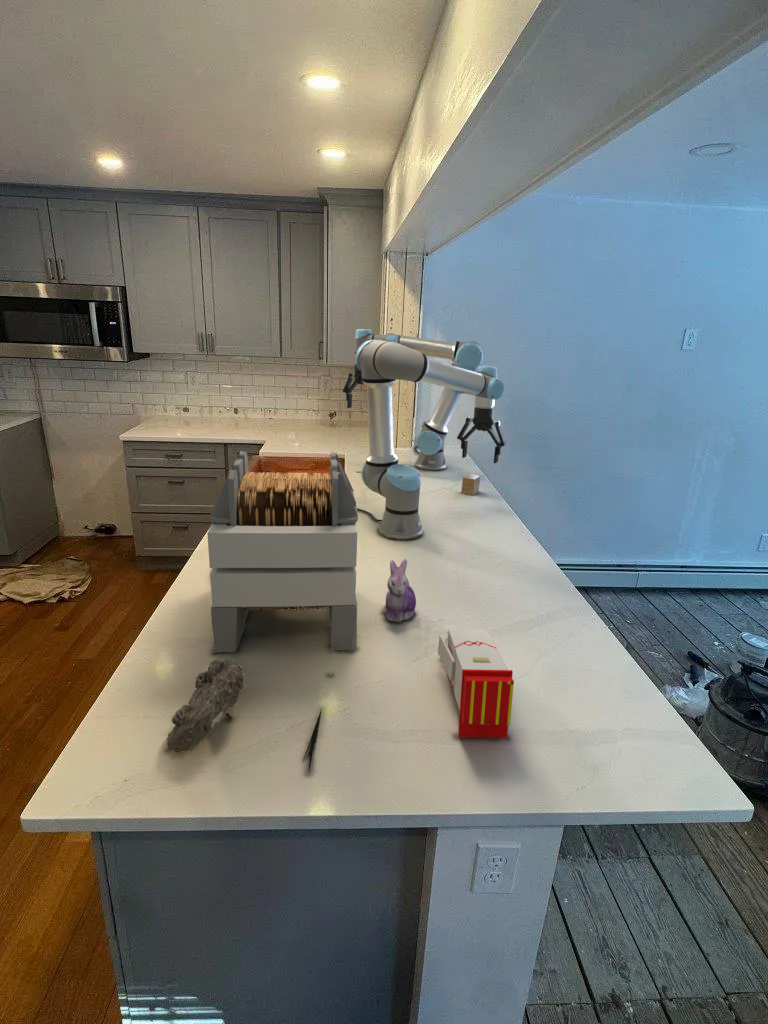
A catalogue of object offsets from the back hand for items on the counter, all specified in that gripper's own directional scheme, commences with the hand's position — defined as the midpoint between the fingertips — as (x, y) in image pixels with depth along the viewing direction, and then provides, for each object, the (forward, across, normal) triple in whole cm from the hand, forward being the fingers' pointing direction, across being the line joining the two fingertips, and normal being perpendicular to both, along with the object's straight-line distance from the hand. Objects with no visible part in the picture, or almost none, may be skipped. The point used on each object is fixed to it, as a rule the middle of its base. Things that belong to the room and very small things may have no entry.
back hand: (361, 409), depth 271 cm
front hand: (+10, -68, +18) cm, 71 cm away
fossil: (+29, -75, +168) cm, 186 cm away
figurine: (+29, -86, +114) cm, 145 cm away
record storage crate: (+29, -63, +130) cm, 148 cm away
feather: (+29, -92, +157) cm, 185 cm away
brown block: (+29, -60, +4) cm, 67 cm away
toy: (+29, -113, +133) cm, 177 cm away
